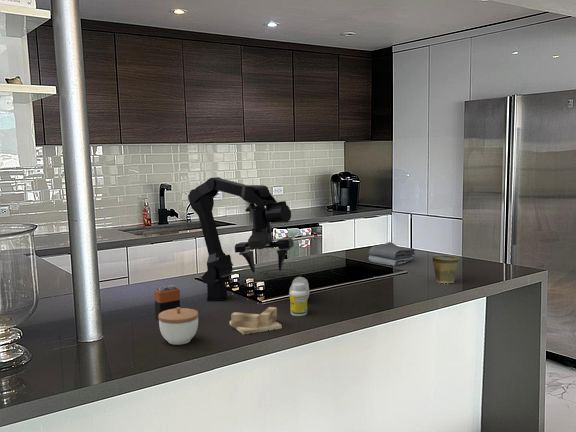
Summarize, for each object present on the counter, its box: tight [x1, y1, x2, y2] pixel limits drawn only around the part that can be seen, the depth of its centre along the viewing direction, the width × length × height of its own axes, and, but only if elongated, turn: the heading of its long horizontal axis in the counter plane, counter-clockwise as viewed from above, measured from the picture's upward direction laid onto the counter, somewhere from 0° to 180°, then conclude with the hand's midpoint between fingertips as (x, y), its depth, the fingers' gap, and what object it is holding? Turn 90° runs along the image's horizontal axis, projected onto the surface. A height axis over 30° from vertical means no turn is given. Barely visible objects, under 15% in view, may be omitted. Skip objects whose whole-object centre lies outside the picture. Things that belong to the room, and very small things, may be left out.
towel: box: [367, 241, 416, 267], centre depth 256 cm, size 15×18×8 cm
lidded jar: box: [158, 306, 199, 346], centre depth 152 cm, size 11×11×9 cm
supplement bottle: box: [289, 282, 308, 317], centre depth 176 cm, size 5×5×10 cm
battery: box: [154, 284, 181, 320], centre depth 173 cm, size 4×7×10 cm, turn 128°
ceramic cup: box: [432, 254, 460, 285], centre depth 217 cm, size 13×10×10 cm
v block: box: [229, 306, 283, 336], centre depth 164 cm, size 11×15×4 cm
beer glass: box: [288, 276, 310, 300], centre depth 194 cm, size 7×7×15 cm
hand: (266, 271), depth 181 cm, fingers open, 9 cm apart
